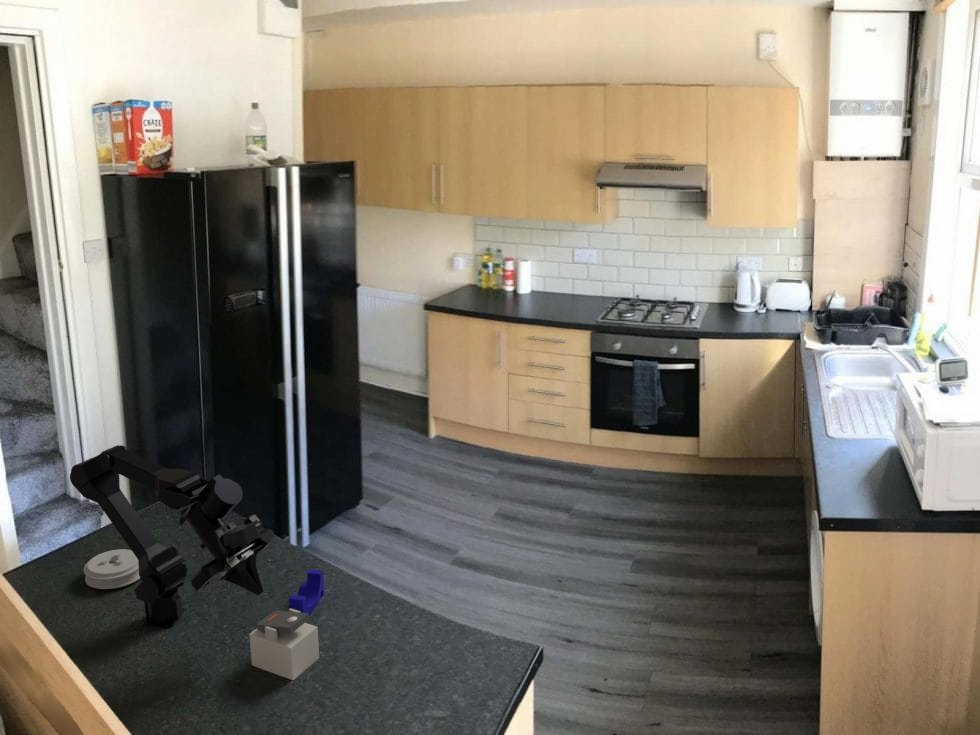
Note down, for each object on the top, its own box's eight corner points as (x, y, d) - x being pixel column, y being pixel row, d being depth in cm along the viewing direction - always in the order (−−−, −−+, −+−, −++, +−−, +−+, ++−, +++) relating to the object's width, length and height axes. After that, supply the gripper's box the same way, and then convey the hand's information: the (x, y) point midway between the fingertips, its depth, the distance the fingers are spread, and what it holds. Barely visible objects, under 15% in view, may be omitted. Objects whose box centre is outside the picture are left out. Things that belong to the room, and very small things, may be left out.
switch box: (252, 665, 180) (248, 622, 177) (279, 643, 187) (276, 602, 184) (293, 680, 175) (290, 637, 173) (319, 658, 182) (316, 616, 179)
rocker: (257, 630, 178) (255, 623, 178) (276, 615, 183) (275, 609, 183) (291, 633, 174) (289, 627, 174) (309, 619, 179) (308, 612, 179)
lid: (73, 582, 209) (70, 562, 208) (121, 559, 220) (118, 539, 218) (110, 598, 203) (107, 578, 201) (157, 573, 213) (155, 554, 212)
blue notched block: (304, 592, 206) (303, 568, 204) (324, 595, 205) (322, 570, 203) (283, 623, 194) (281, 597, 192) (304, 625, 193) (302, 599, 192)
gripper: (196, 528, 169) (248, 597, 167) (265, 490, 185) (313, 552, 183) (169, 557, 175) (218, 624, 173) (238, 518, 190) (284, 578, 189)
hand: (260, 593), depth 179 cm, fingers closed
